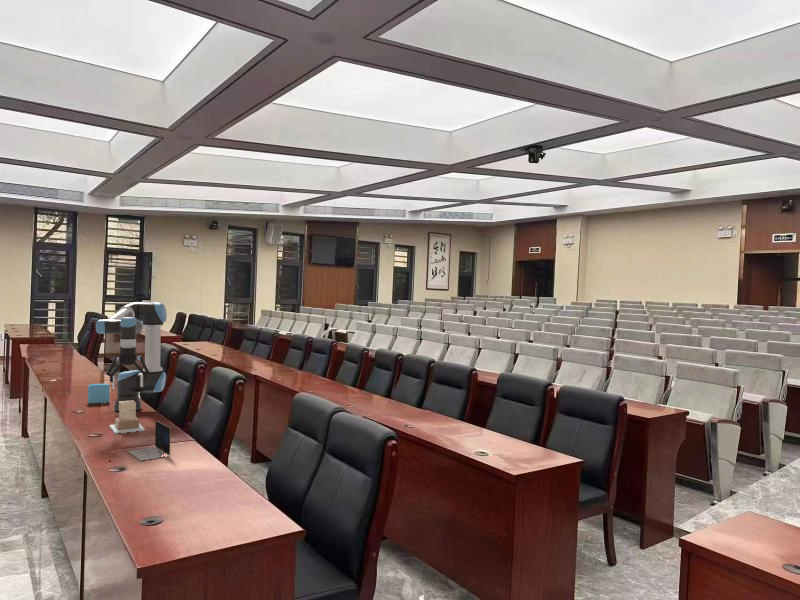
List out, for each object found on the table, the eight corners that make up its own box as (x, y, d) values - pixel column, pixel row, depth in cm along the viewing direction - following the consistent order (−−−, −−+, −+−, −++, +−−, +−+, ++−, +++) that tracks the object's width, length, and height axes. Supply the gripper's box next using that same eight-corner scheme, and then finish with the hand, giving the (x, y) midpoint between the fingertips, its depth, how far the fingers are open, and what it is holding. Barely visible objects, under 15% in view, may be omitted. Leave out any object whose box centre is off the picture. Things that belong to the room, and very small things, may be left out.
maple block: (118, 418, 309) (118, 401, 309) (133, 417, 313) (133, 400, 312) (120, 421, 303) (121, 403, 303) (135, 419, 307) (135, 402, 307)
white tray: (109, 426, 311) (109, 417, 311) (138, 423, 319) (138, 414, 319) (114, 434, 296) (115, 424, 296) (144, 430, 304) (144, 421, 304)
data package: (109, 402, 377) (109, 383, 377) (109, 403, 373) (109, 384, 373) (87, 403, 371) (88, 384, 371) (88, 404, 367) (88, 385, 367)
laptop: (127, 452, 265) (127, 423, 265) (156, 448, 273) (156, 420, 273) (140, 462, 251) (141, 431, 251) (170, 457, 260) (170, 427, 260)
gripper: (152, 345, 317) (151, 384, 318) (100, 347, 303) (100, 388, 304) (155, 346, 311) (154, 387, 311) (102, 348, 297) (102, 390, 298)
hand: (127, 387), depth 308 cm, fingers open, 13 cm apart
